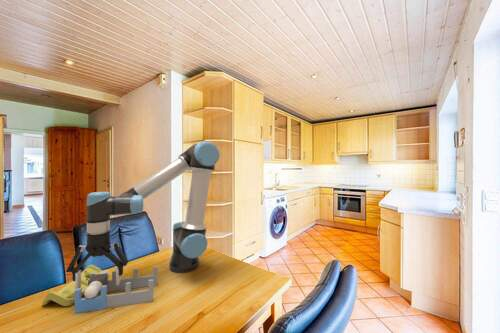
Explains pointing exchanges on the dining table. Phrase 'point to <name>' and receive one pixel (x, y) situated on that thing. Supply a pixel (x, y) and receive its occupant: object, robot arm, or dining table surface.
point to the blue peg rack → (120, 298)
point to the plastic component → (71, 289)
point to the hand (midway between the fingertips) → (98, 286)
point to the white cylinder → (96, 283)
